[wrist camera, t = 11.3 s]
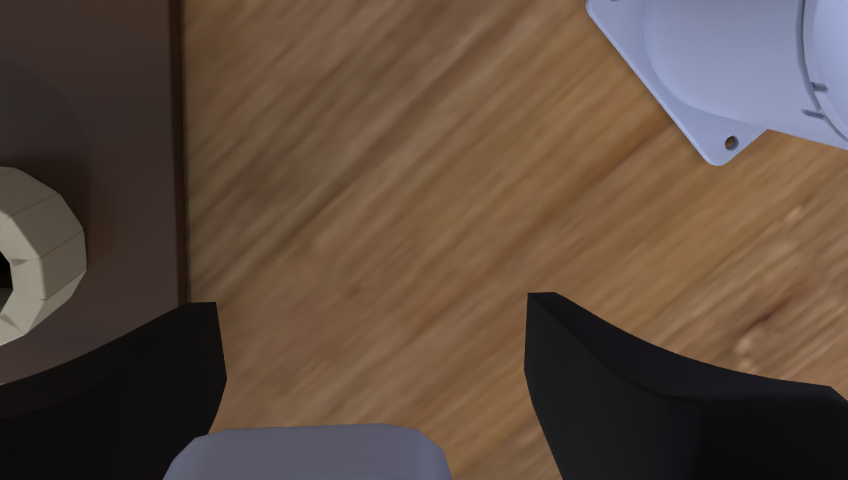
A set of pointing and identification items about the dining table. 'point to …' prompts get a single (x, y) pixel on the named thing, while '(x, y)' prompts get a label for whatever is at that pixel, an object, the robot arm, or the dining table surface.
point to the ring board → (98, 160)
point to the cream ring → (36, 252)
